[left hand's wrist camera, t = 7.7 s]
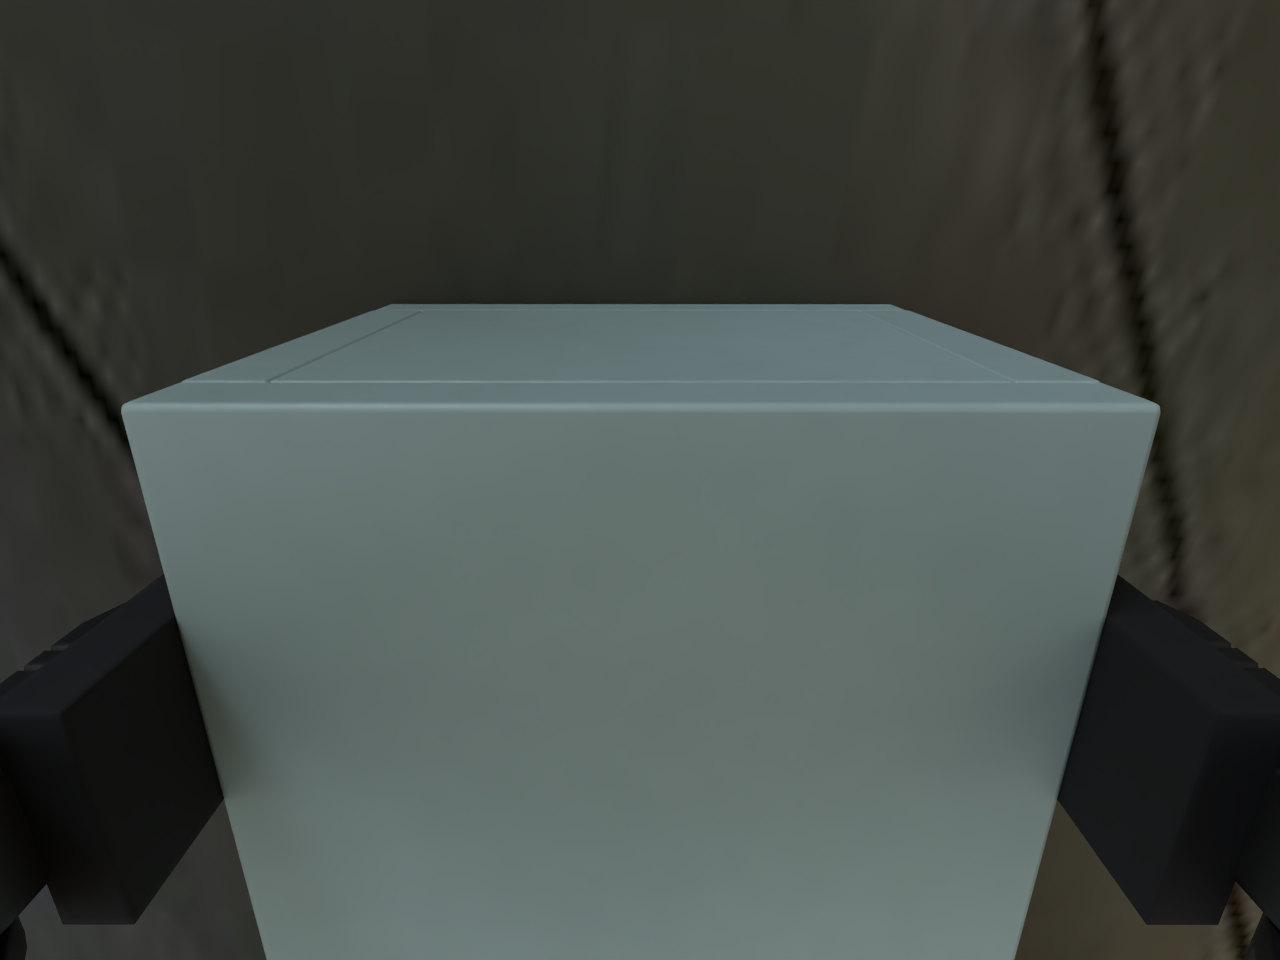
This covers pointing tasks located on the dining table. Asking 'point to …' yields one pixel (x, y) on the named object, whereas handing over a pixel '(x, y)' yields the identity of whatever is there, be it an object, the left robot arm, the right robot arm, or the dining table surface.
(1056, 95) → the dining table surface
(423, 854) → the cabinet
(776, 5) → the dining table surface
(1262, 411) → the dining table surface
